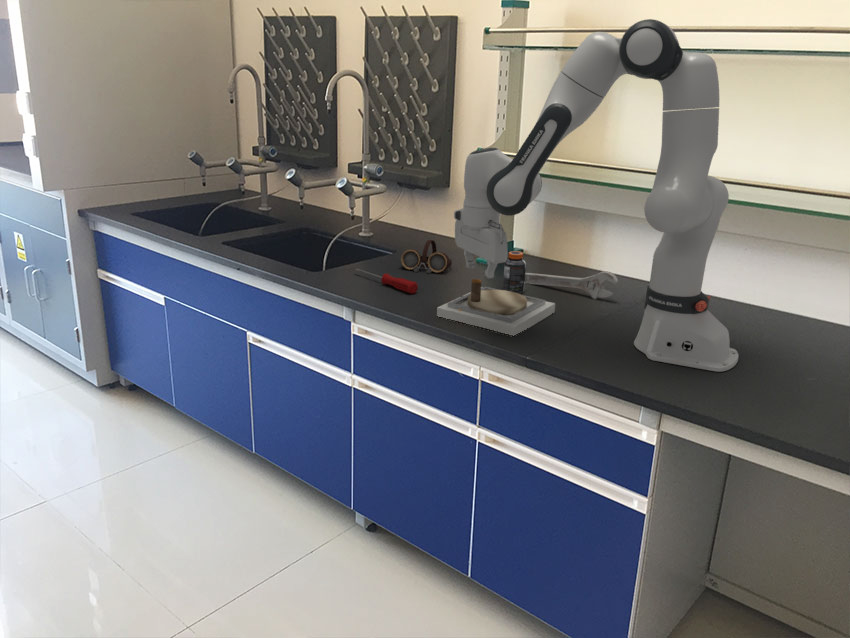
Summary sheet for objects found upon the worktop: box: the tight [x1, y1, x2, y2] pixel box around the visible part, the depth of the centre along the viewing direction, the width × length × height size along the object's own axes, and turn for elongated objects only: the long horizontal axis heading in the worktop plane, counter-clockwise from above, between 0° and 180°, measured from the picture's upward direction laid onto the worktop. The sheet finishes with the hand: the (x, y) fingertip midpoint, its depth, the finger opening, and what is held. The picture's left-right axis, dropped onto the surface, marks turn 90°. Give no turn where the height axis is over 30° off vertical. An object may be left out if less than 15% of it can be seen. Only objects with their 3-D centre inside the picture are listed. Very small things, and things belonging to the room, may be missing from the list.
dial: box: [468, 278, 527, 314], centre depth 182 cm, size 15×15×7 cm
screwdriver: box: [355, 268, 419, 295], centre depth 206 cm, size 4×25×4 cm, turn 45°
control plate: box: [436, 286, 556, 336], centre depth 183 cm, size 22×22×4 cm
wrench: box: [525, 270, 619, 300], centre depth 202 cm, size 8×2×30 cm
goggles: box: [400, 239, 453, 274], centre depth 222 cm, size 15×13×10 cm
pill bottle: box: [502, 250, 527, 294], centre depth 201 cm, size 6×6×11 cm
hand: (479, 272), depth 177 cm, fingers open, 8 cm apart
